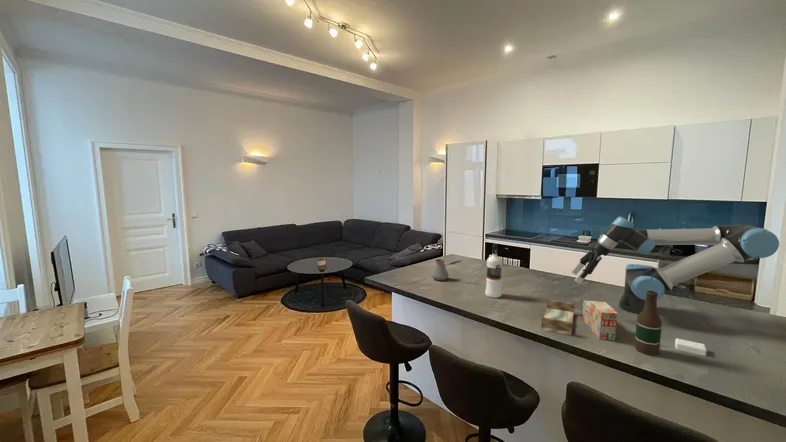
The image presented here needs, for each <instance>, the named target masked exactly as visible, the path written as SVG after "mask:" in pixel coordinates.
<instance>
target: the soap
mask: <svg viewBox="0 0 786 442" xmlns="http://www.w3.org/2000/svg"><path fill="white" fill-rule="evenodd" d="M674 345H675V350H677V351H682V352H686V353H691V354H696V355H700V356H704V357H706V356H707V351H708V350H707V348H706V344H704V343H700V342H695V341H692V340H686V339H681V338H675V342H674Z"/></svg>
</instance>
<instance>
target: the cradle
mask: <svg viewBox="0 0 786 442" xmlns="http://www.w3.org/2000/svg"><path fill="white" fill-rule="evenodd" d="M574 309H575V303H572V302H566V301H561V300H555V299H547V300H546V309H545V314H544V315H543V316H542V317H541V326H540V330H541V331H545V332H551V333H556V334H560V335H566V336H571V337H572V333H573V324H574V322H573V321H574V313H575V312H574V311H575V310H574Z"/></svg>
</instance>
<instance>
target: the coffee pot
mask: <svg viewBox="0 0 786 442" xmlns="http://www.w3.org/2000/svg"><path fill="white" fill-rule="evenodd" d="M434 261H435V265H434V268H433V270H432V272H431V273H430V274H431V275H430V276H431V278H432V279H433V280H435V281H437V282H442V281H443V282H444V281H446V280H447V279H448V278H449V273H448V271H447V268H446V266H449V265H453V264H454V265H455V264H458V263H460V264H463V261H461V260H457V261H456V260H455V261H453V262H450V263H447V264H445V261H446V260H445V259H441V258H440V259H435V260H434Z"/></svg>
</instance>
